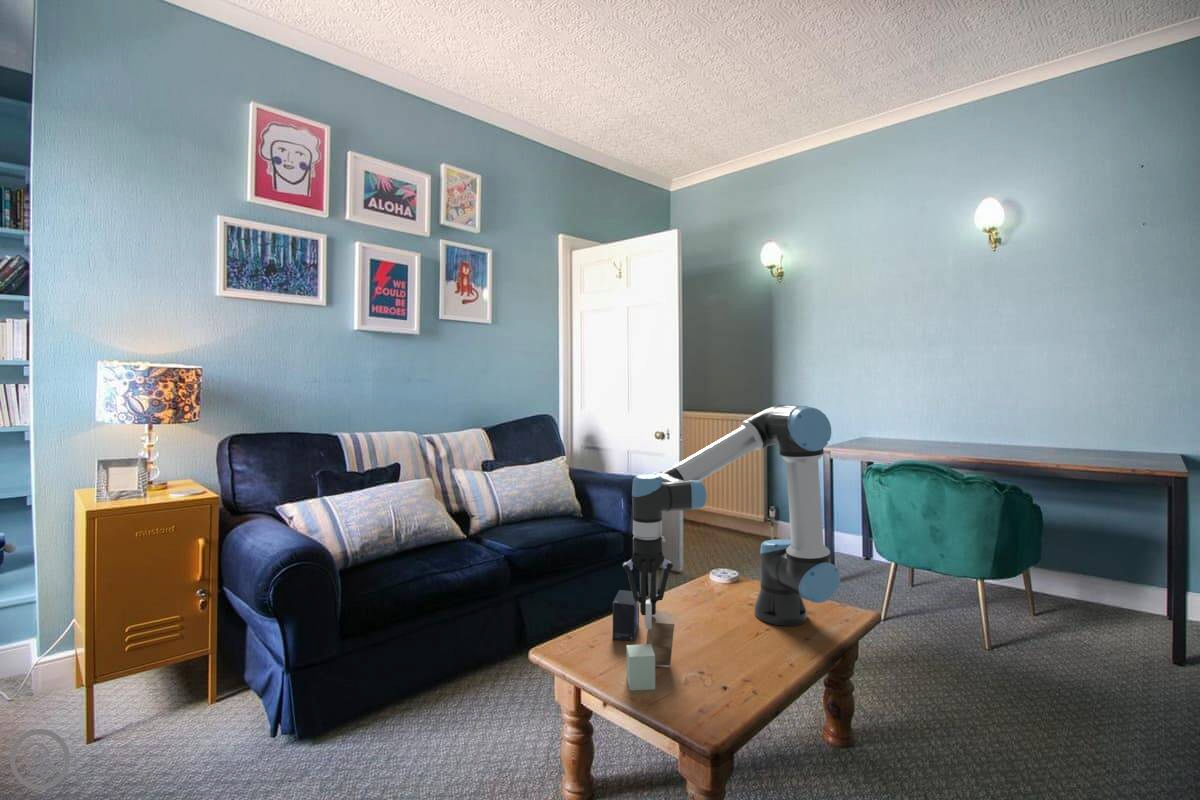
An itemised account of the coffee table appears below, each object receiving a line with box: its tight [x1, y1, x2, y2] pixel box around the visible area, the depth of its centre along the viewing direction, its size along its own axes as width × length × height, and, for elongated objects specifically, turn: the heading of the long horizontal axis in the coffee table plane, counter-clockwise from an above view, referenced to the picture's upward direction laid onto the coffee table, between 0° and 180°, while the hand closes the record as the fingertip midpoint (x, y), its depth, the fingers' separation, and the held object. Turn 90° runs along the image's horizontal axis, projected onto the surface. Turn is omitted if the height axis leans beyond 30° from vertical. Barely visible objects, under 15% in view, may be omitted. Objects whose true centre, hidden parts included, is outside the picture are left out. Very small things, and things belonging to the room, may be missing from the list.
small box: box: [612, 589, 640, 642], centre depth 167 cm, size 11×6×10 cm, turn 169°
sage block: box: [625, 643, 656, 691], centre depth 139 cm, size 6×6×8 cm
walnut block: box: [645, 610, 675, 668], centre depth 150 cm, size 5×8×11 cm, turn 4°
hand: (648, 626), depth 150 cm, fingers closed
